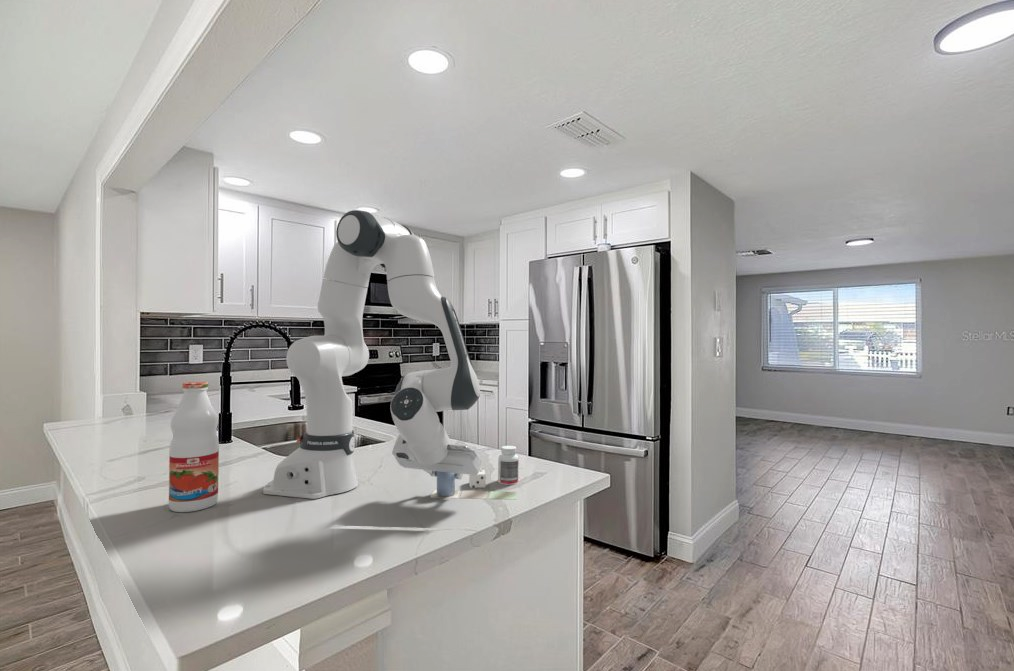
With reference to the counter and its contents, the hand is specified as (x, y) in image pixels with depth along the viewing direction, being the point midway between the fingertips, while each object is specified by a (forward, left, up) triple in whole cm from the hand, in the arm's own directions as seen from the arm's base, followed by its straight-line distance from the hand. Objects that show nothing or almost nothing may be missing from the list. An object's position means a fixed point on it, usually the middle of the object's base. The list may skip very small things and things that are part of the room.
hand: (447, 475), depth 116 cm
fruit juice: (-56, -11, -5) cm, 57 cm away
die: (+7, +7, -5) cm, 11 cm away
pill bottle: (+15, +10, -5) cm, 19 cm away
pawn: (0, -1, -4) cm, 4 cm away
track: (+7, -1, -5) cm, 8 cm away
